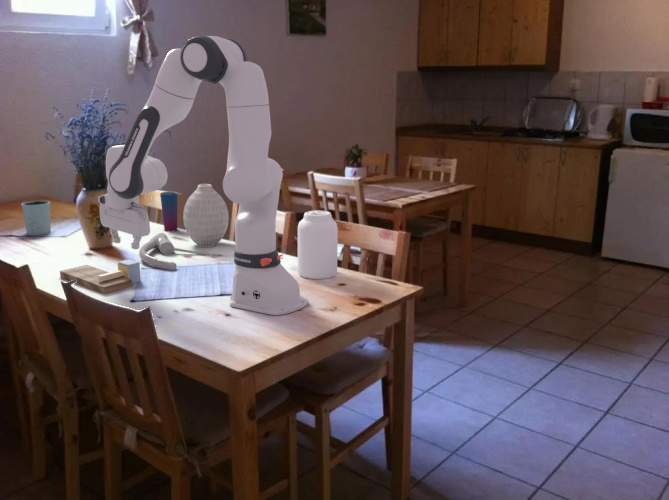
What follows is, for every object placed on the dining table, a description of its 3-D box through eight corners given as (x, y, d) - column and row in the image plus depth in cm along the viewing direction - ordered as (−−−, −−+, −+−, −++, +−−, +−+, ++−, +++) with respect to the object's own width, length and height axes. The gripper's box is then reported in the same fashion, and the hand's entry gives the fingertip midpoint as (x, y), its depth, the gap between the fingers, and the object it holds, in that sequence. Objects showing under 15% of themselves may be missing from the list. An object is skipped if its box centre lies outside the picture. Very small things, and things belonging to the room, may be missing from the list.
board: (132, 286, 189) (131, 279, 189) (104, 293, 182) (104, 287, 182) (87, 270, 204) (86, 264, 203) (60, 277, 197) (59, 270, 196)
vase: (220, 251, 228) (218, 189, 222) (177, 249, 231) (174, 187, 225) (235, 240, 244) (233, 182, 238) (194, 238, 246) (191, 180, 240)
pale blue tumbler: (26, 236, 245) (22, 205, 242) (23, 231, 253) (20, 201, 250) (54, 234, 250) (51, 203, 247) (51, 228, 258) (48, 199, 255)
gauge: (140, 281, 194) (139, 262, 193) (105, 290, 185) (103, 271, 184) (130, 277, 197) (129, 259, 196) (95, 287, 188) (93, 267, 187)
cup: (171, 227, 264) (169, 190, 260) (183, 229, 260) (181, 192, 256) (158, 230, 258) (156, 193, 254) (169, 232, 254) (167, 195, 251)
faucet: (228, 257, 231) (198, 280, 204) (155, 244, 235) (116, 265, 208) (229, 245, 229) (199, 266, 203) (156, 231, 233) (117, 250, 207)
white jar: (291, 277, 200) (291, 214, 195) (306, 266, 212) (306, 206, 207) (328, 281, 196) (329, 217, 191) (342, 270, 208) (343, 210, 202)
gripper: (154, 203, 184) (156, 250, 188) (113, 193, 196) (115, 237, 200) (135, 206, 179) (137, 254, 183) (94, 196, 192) (97, 241, 195)
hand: (126, 245), depth 192 cm, fingers open, 8 cm apart
